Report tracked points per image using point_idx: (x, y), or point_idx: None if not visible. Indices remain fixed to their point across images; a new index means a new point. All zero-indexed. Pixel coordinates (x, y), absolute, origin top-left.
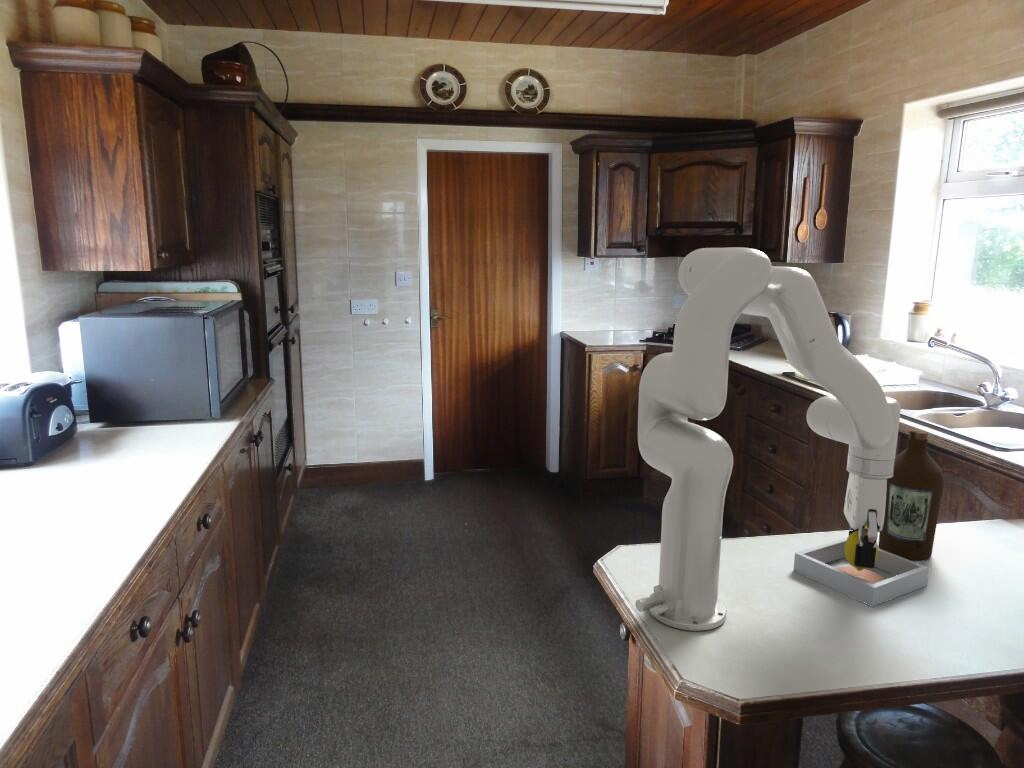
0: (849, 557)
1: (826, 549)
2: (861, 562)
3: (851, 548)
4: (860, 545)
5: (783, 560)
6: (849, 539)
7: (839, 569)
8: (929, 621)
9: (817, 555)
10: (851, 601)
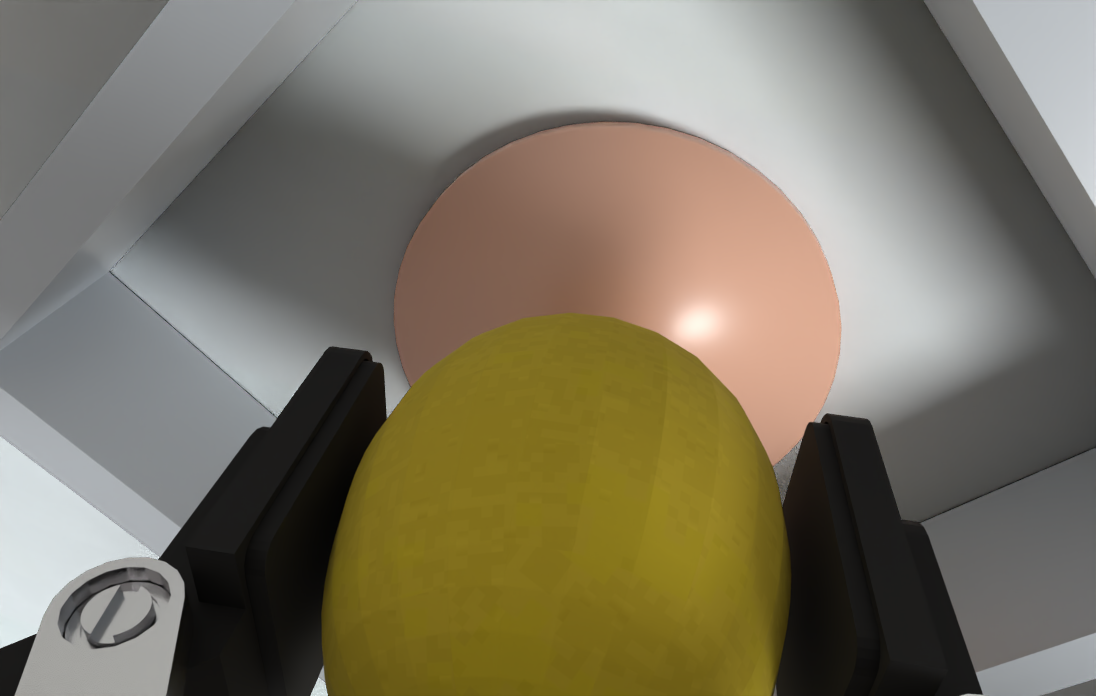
0: (466, 348)
1: (1052, 150)
2: (261, 429)
3: (403, 446)
4: (80, 588)
5: None
6: (493, 529)
7: (745, 205)
8: (35, 532)
9: None
10: (61, 115)
